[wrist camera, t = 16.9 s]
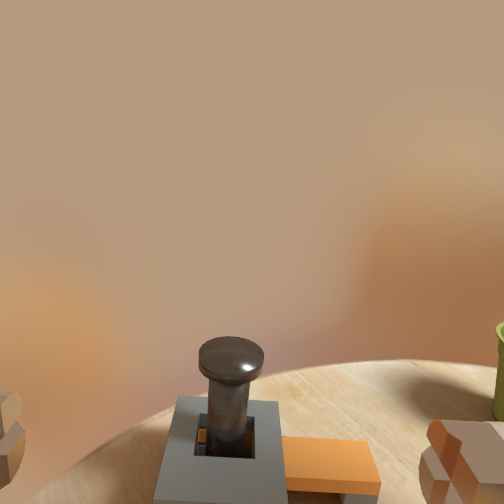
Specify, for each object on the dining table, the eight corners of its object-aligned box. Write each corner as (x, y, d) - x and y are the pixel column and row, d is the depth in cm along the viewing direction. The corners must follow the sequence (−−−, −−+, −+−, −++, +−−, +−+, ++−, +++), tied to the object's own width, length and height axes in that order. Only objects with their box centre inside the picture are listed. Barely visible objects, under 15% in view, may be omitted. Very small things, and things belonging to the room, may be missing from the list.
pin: (250, 460, 44) (263, 338, 39) (251, 508, 39) (265, 374, 34) (196, 456, 44) (202, 334, 39) (189, 504, 38) (195, 369, 34)
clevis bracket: (355, 448, 47) (363, 406, 45) (390, 563, 35) (403, 512, 33) (176, 438, 46) (178, 395, 44) (152, 551, 34) (152, 499, 32)
